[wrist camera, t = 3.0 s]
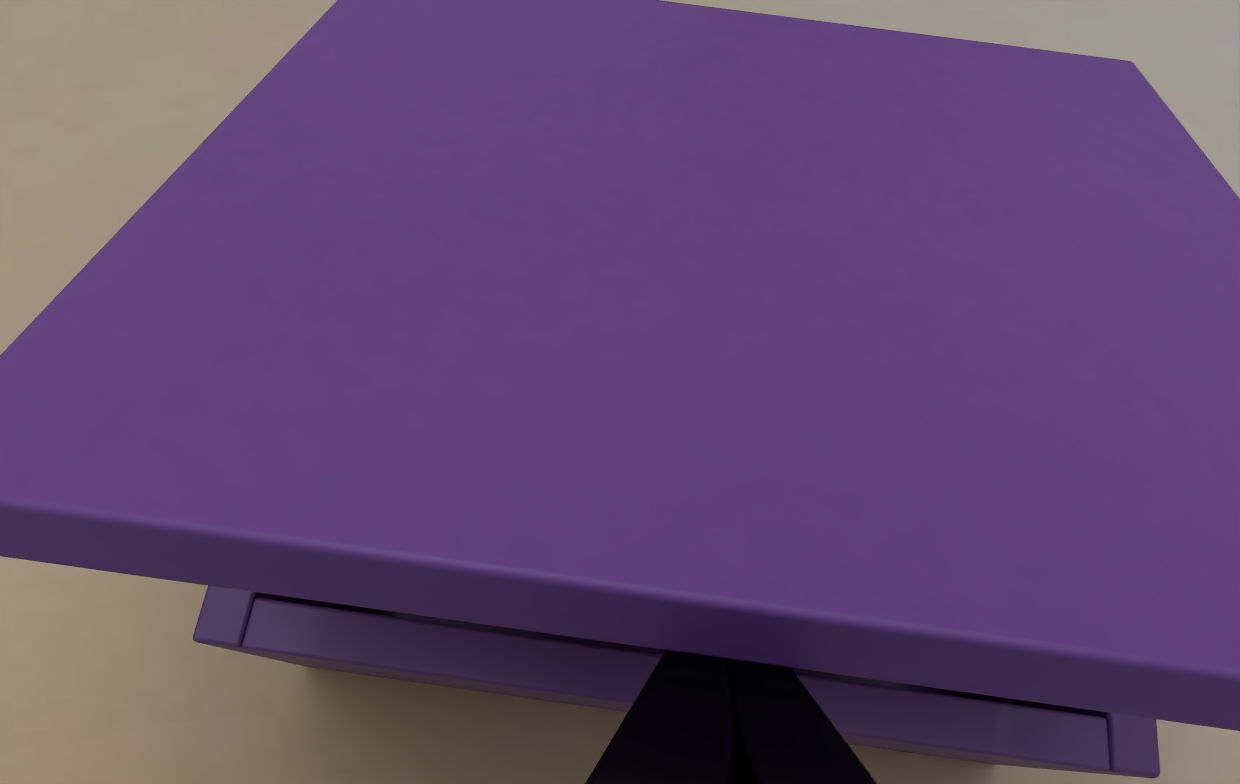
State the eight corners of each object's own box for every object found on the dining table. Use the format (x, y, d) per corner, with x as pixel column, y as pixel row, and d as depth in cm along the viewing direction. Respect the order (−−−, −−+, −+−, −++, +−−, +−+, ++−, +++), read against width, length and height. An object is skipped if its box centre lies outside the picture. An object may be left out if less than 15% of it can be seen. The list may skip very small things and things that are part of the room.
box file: (997, 764, 17) (1163, 779, 12) (303, 666, 17) (189, 640, 12) (987, 245, 21) (1108, 99, 16) (427, 171, 21) (379, 4, 16)
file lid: (1577, 782, 7) (1667, 736, 6) (-81, 548, 7) (-131, 484, 7) (1112, 103, 16) (1134, 60, 15) (375, 7, 16) (371, -39, 16)
